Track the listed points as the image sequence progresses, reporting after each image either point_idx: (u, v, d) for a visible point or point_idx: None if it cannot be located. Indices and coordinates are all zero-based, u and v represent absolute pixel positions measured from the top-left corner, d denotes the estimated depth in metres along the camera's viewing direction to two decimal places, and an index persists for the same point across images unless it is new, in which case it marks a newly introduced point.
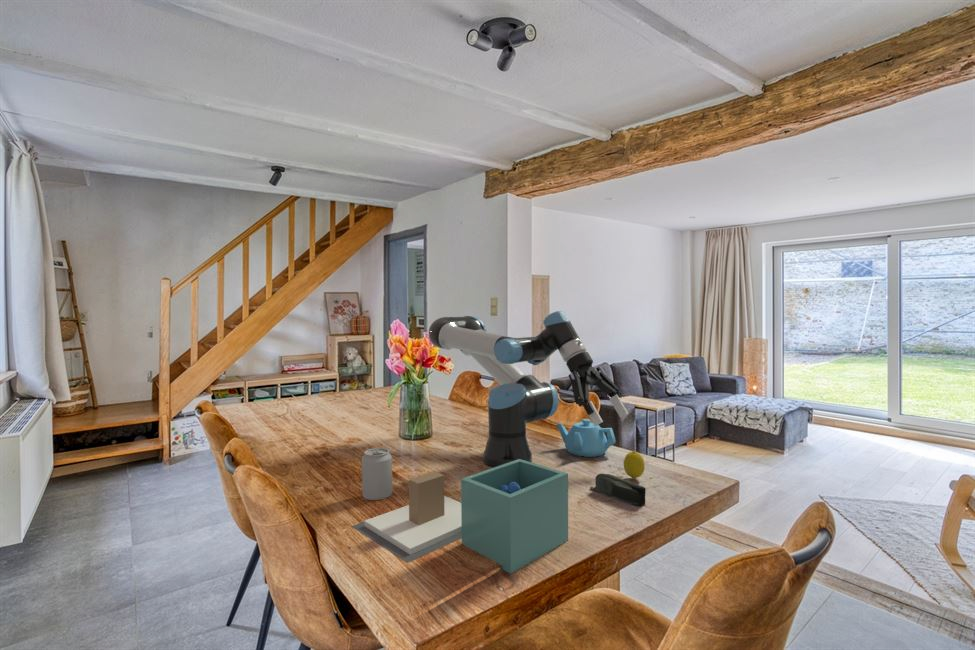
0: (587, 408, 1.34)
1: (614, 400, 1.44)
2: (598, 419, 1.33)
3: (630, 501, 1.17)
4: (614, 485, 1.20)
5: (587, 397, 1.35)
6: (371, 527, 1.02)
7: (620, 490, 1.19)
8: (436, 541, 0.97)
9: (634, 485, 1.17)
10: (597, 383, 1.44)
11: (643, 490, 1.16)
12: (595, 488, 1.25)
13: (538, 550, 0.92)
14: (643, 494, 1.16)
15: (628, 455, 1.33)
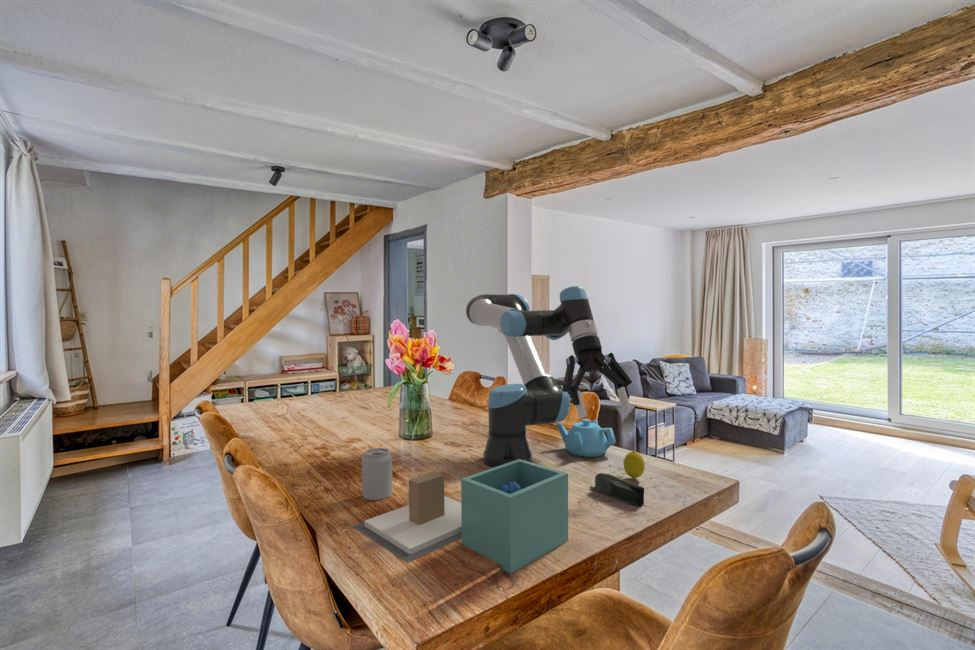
0: (573, 398, 1.23)
1: (620, 392, 1.29)
2: (582, 412, 1.22)
3: (629, 501, 1.17)
4: (613, 485, 1.20)
5: (576, 386, 1.24)
6: (371, 527, 1.02)
7: (619, 490, 1.19)
8: (436, 541, 0.97)
9: (633, 485, 1.17)
10: (603, 371, 1.30)
11: (641, 490, 1.15)
12: (595, 488, 1.25)
13: (538, 550, 0.92)
14: (641, 494, 1.16)
15: (628, 455, 1.33)
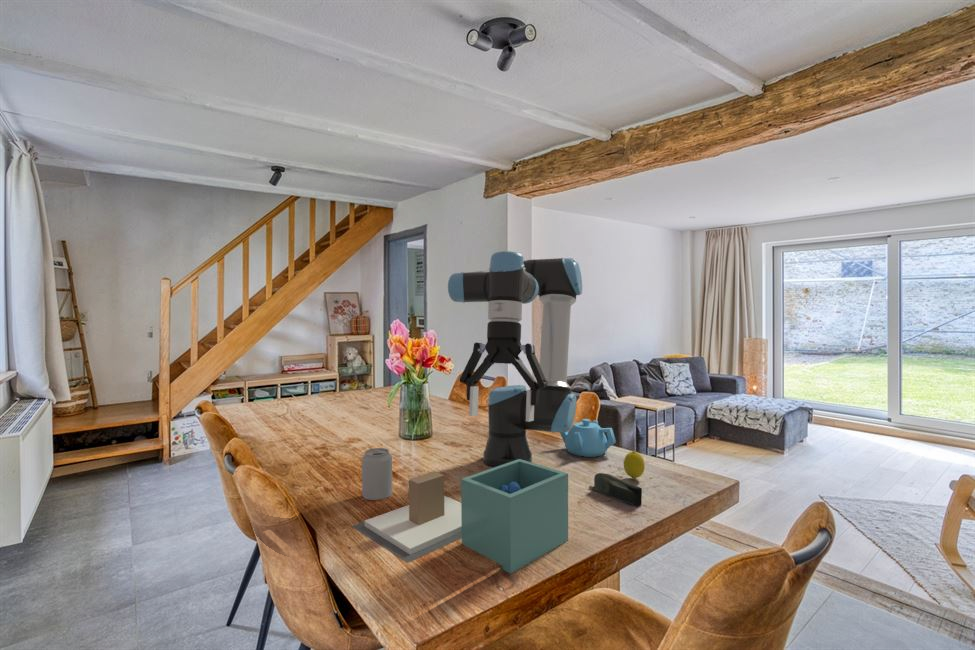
0: None
1: None
2: None
3: (626, 501, 1.17)
4: (611, 485, 1.20)
5: (471, 380, 1.08)
6: (371, 527, 1.02)
7: (617, 490, 1.19)
8: (436, 541, 0.97)
9: (630, 485, 1.17)
10: None
11: (639, 490, 1.15)
12: (594, 487, 1.25)
13: (538, 550, 0.92)
14: (639, 494, 1.15)
15: (628, 455, 1.33)
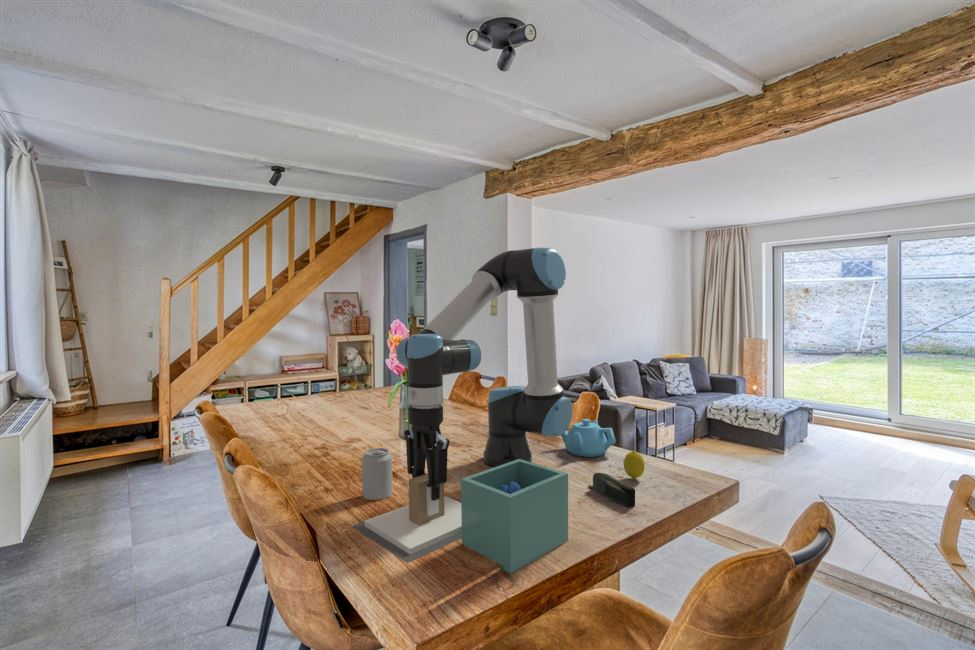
0: None
1: None
2: None
3: (620, 501, 1.17)
4: (607, 485, 1.20)
5: (414, 473, 1.06)
6: (371, 527, 1.02)
7: (612, 490, 1.19)
8: (436, 541, 0.97)
9: (624, 486, 1.17)
10: None
11: (632, 491, 1.15)
12: (592, 486, 1.26)
13: (538, 550, 0.92)
14: (632, 495, 1.15)
15: (628, 455, 1.33)
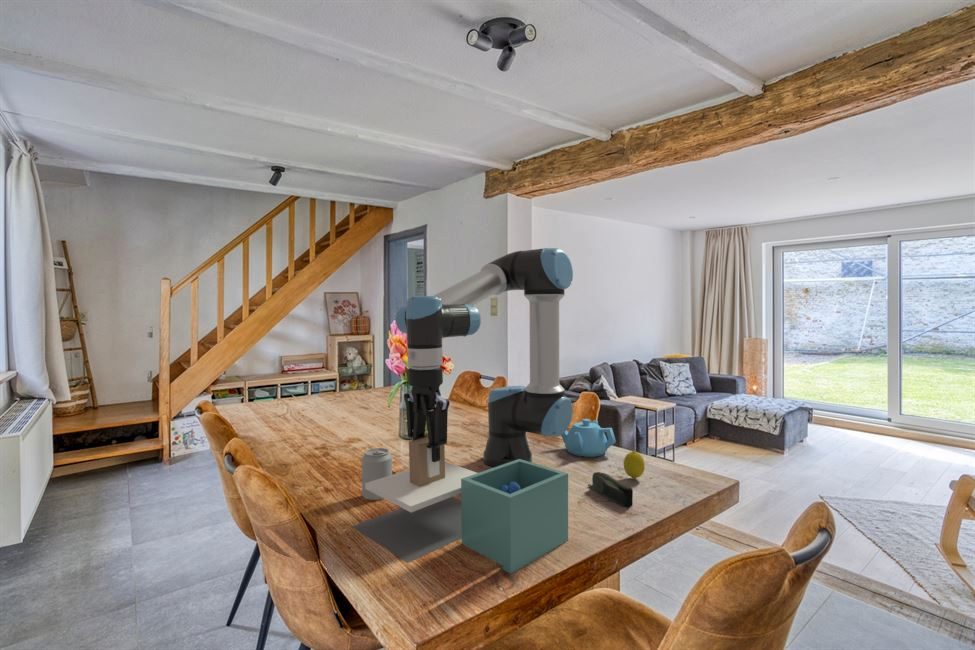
0: None
1: None
2: None
3: (617, 501, 1.17)
4: (605, 484, 1.20)
5: (414, 435, 1.06)
6: (372, 489, 1.02)
7: (610, 490, 1.19)
8: (437, 500, 0.96)
9: (622, 486, 1.17)
10: None
11: (629, 491, 1.15)
12: (592, 486, 1.26)
13: (538, 550, 0.92)
14: (629, 495, 1.15)
15: (628, 455, 1.33)
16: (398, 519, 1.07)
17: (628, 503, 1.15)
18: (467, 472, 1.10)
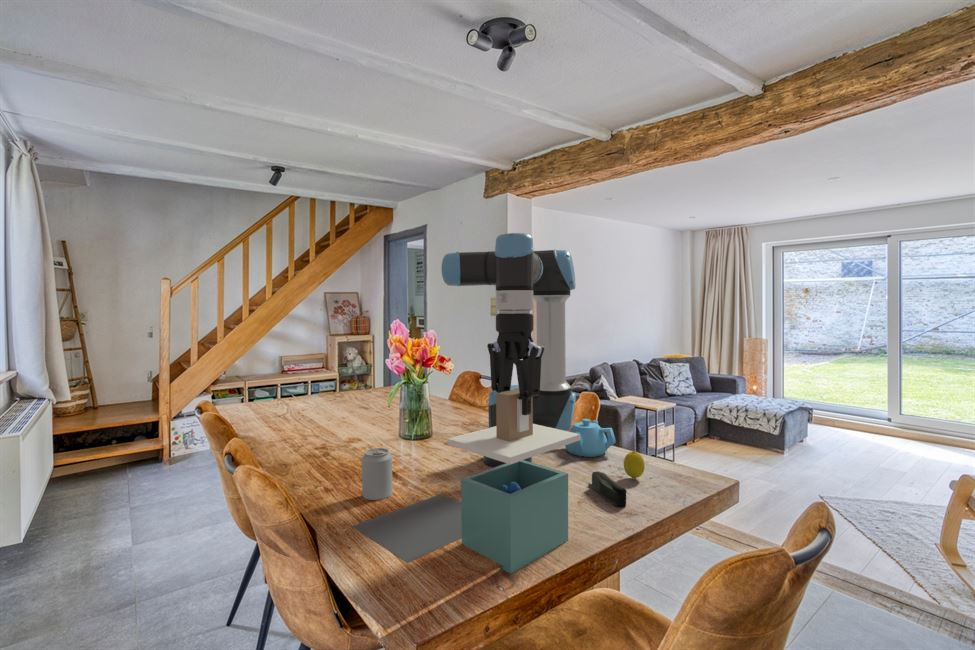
0: None
1: None
2: None
3: (611, 501, 1.17)
4: (601, 484, 1.21)
5: (500, 388, 0.97)
6: (457, 444, 0.93)
7: (605, 489, 1.19)
8: (534, 454, 0.88)
9: (616, 486, 1.17)
10: None
11: (622, 491, 1.15)
12: (591, 485, 1.27)
13: (538, 550, 0.92)
14: (622, 496, 1.15)
15: (628, 455, 1.33)
16: (398, 519, 1.07)
17: (621, 503, 1.15)
18: (554, 430, 1.01)
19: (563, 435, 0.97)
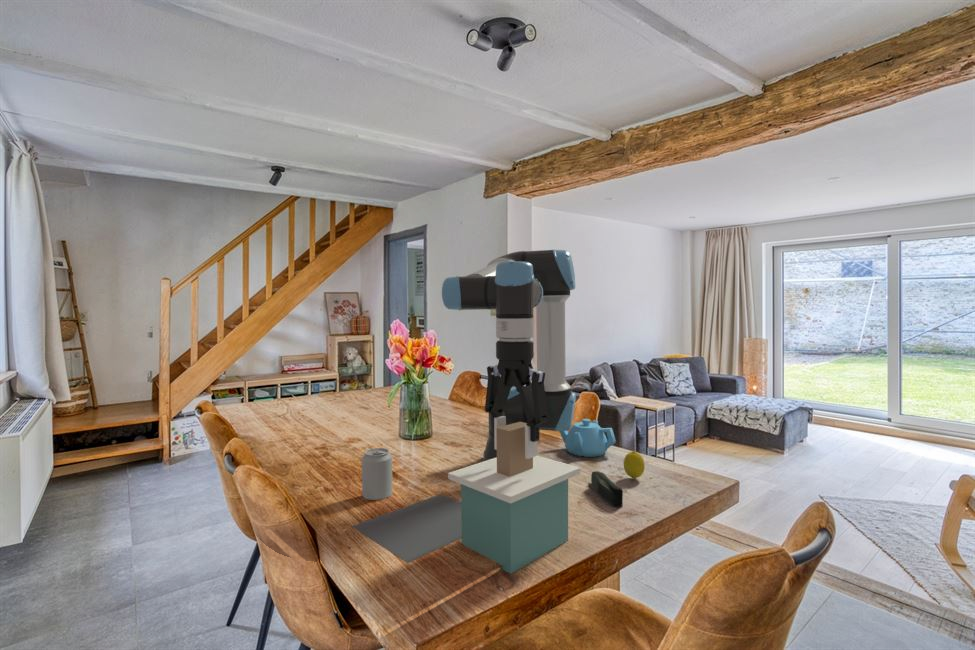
0: None
1: None
2: None
3: (608, 501, 1.17)
4: (599, 483, 1.21)
5: (494, 410, 0.99)
6: (458, 479, 0.94)
7: (602, 489, 1.20)
8: (534, 491, 0.88)
9: (613, 485, 1.17)
10: None
11: (618, 492, 1.15)
12: (591, 484, 1.27)
13: (538, 550, 0.92)
14: (618, 496, 1.15)
15: (628, 455, 1.33)
16: (398, 519, 1.07)
17: (617, 503, 1.15)
18: (554, 462, 1.01)
19: (563, 469, 0.97)
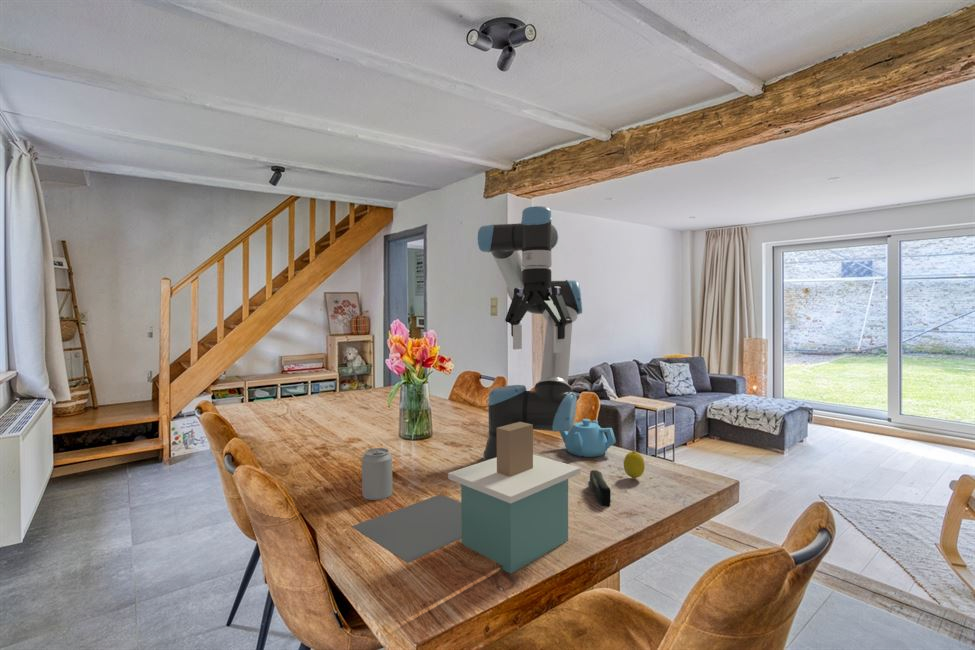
0: None
1: None
2: None
3: (597, 499, 1.18)
4: (593, 482, 1.22)
5: (513, 320, 1.28)
6: (458, 479, 0.94)
7: (594, 487, 1.21)
8: (534, 491, 0.88)
9: (602, 485, 1.17)
10: None
11: (605, 491, 1.15)
12: (590, 483, 1.29)
13: (538, 550, 0.92)
14: (605, 495, 1.15)
15: (628, 455, 1.33)
16: (398, 519, 1.07)
17: (604, 502, 1.15)
18: (554, 462, 1.01)
19: (563, 469, 0.97)
